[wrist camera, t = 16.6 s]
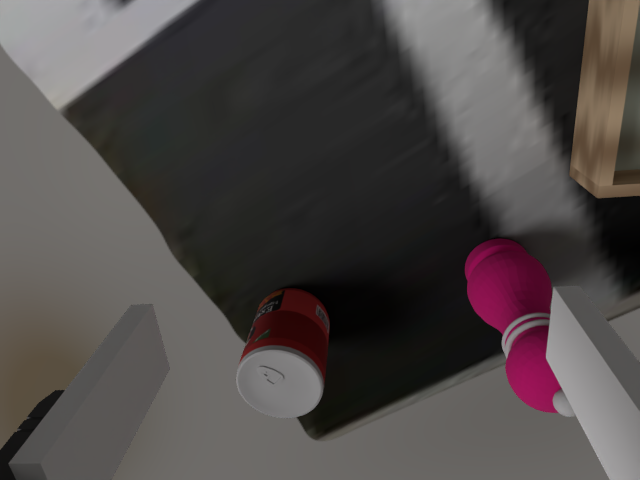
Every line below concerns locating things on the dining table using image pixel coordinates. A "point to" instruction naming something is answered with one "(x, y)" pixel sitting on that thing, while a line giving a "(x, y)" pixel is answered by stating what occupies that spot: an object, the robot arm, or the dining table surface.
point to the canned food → (285, 355)
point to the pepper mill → (517, 318)
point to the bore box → (609, 102)
